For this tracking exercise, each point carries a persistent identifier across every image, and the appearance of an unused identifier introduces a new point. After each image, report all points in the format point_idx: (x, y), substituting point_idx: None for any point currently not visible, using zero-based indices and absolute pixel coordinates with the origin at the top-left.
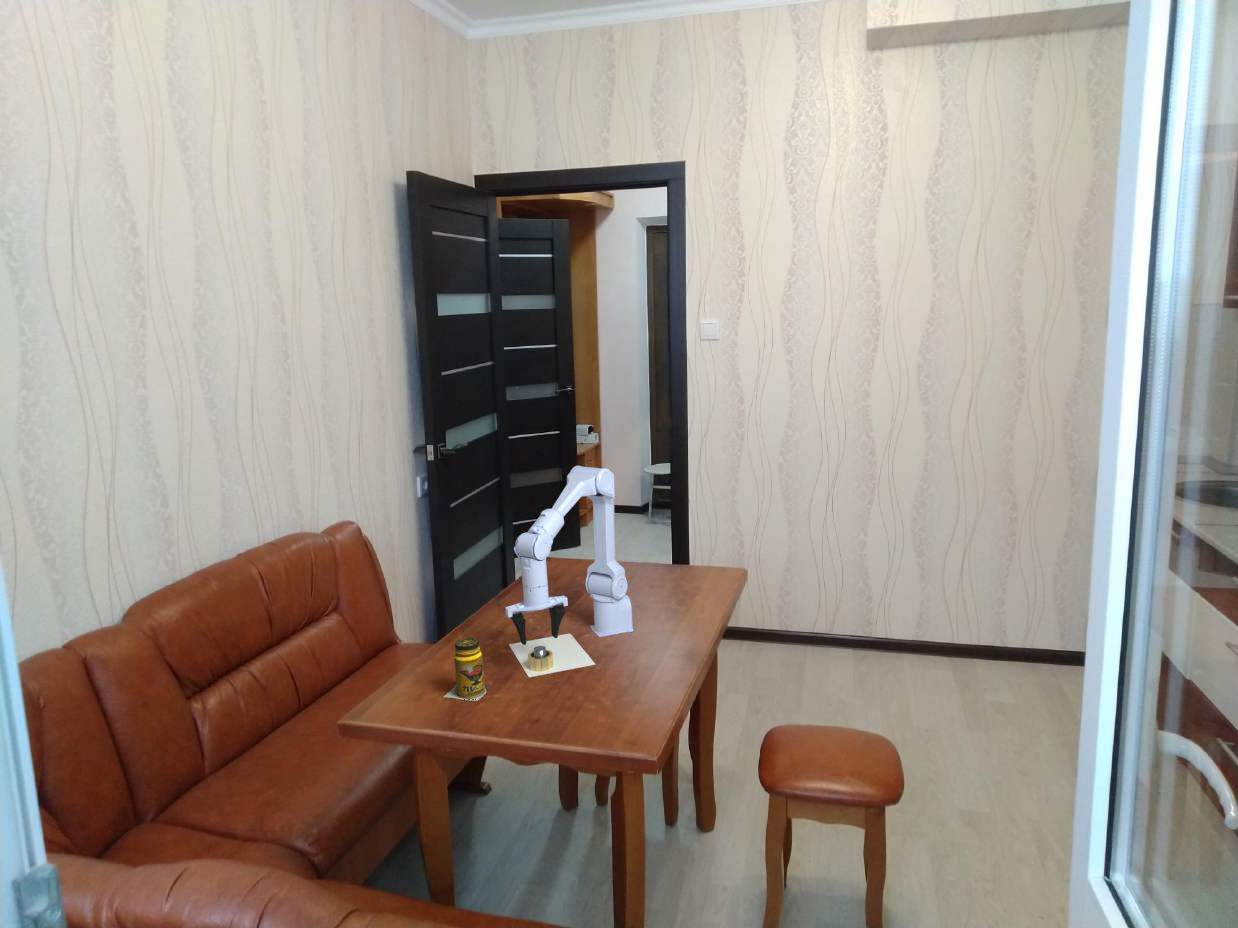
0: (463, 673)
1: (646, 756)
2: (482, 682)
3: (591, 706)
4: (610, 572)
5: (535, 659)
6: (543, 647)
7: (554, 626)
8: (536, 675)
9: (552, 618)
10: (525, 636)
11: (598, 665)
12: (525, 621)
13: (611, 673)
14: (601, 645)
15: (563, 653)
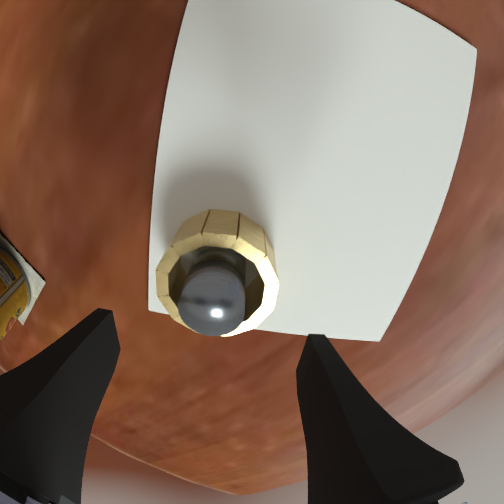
0: None
1: (234, 494)
2: (13, 323)
3: (237, 446)
4: None
5: (176, 319)
6: (232, 314)
7: (311, 426)
8: None
9: (329, 453)
10: (102, 395)
11: (385, 335)
12: (80, 494)
13: (369, 381)
14: (488, 213)
15: (366, 200)
